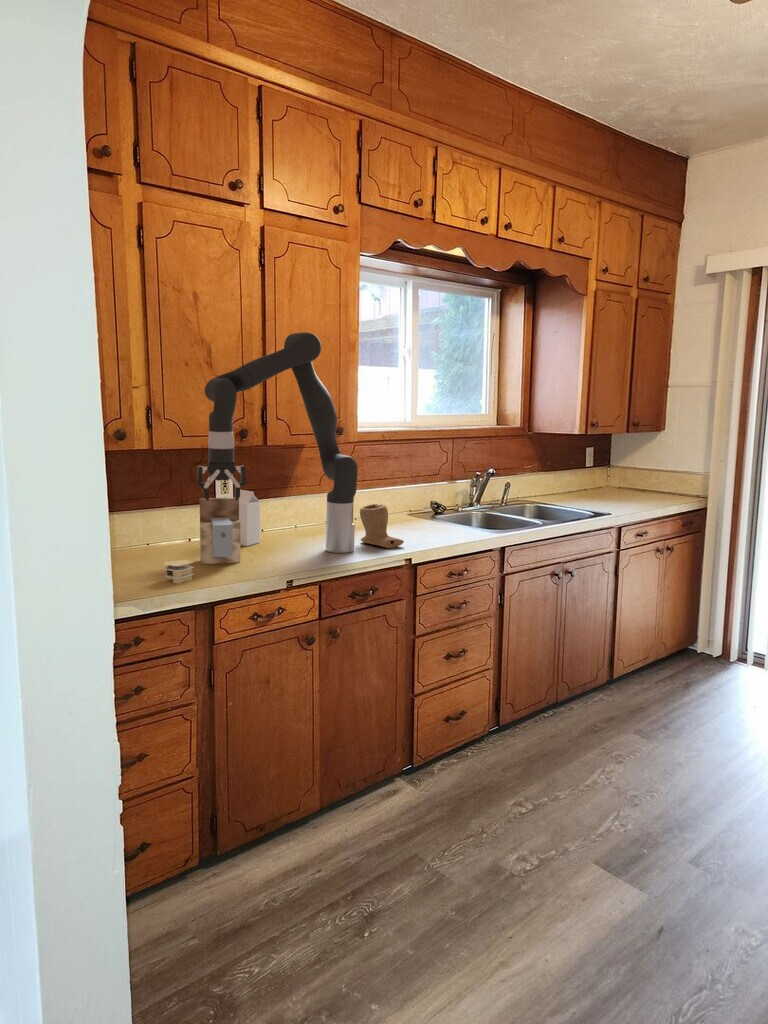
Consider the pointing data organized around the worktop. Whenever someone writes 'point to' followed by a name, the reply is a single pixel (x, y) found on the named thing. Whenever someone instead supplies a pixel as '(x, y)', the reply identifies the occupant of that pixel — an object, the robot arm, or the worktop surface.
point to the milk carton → (249, 518)
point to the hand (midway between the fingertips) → (222, 500)
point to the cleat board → (208, 511)
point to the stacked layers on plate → (179, 571)
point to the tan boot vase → (377, 526)
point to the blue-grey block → (221, 537)
